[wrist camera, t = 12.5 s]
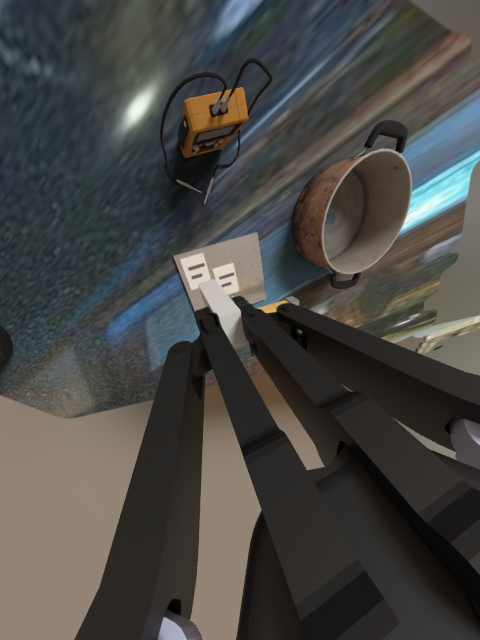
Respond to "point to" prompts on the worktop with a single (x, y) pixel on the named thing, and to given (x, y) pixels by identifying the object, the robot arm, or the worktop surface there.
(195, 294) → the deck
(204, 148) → the multimeter
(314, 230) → the cooking pot
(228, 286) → the label
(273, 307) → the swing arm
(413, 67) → the worktop surface
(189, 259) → the label
